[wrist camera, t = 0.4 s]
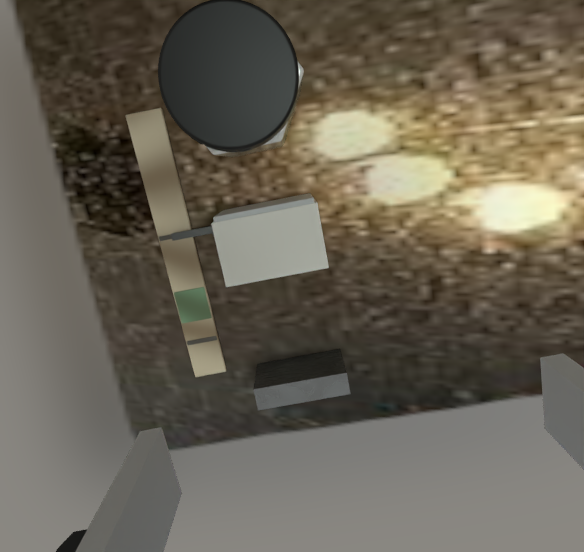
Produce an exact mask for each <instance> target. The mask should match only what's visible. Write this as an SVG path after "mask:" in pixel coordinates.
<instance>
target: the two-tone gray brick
mask: <svg viewBox="0 0 584 552" xmlns="http://www.w3.org/2000/svg"><path fill="white" fill-rule="evenodd" d="M253 390H254V394H255V398H256V402H257V407H258V410H263V409H268V408H274V407H280V406H285V405H291V404H297V403H302V402H308V401H314V400H319V399H325V398H330V397H336V396H342V395H347V394H350V389H349V383H348V377H347V372H346V369H345V365H344V361H343V358H342V354H341V351H340V349H337V350H332V351H326V352H321V353H315V354H310V355H304V356H299V357H293V358H288V359H282V360H277V361H271V362H266V363H260V364H257V370H256V376H255V383H254V389H253Z"/></svg>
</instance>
